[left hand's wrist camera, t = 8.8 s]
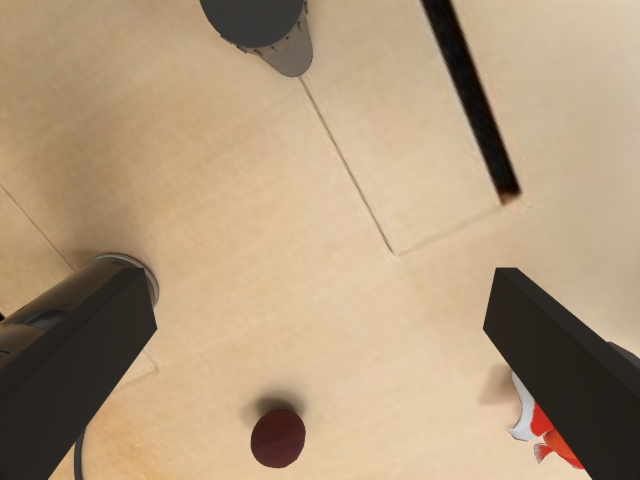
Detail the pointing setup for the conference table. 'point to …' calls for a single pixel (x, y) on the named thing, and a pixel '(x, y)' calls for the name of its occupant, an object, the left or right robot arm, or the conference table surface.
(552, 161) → the conference table surface
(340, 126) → the conference table surface
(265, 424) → the dark red round ball
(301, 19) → the lid
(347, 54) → the conference table surface
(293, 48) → the bottle
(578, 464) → the fish
